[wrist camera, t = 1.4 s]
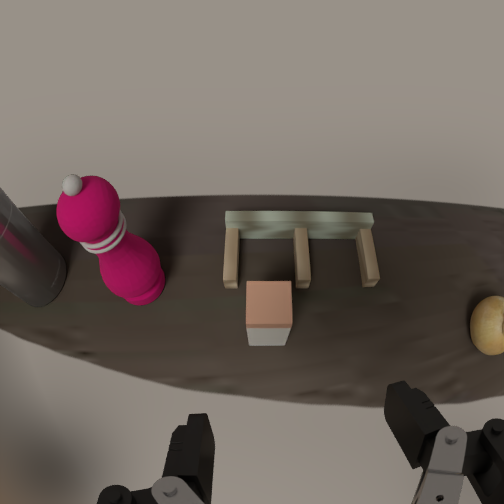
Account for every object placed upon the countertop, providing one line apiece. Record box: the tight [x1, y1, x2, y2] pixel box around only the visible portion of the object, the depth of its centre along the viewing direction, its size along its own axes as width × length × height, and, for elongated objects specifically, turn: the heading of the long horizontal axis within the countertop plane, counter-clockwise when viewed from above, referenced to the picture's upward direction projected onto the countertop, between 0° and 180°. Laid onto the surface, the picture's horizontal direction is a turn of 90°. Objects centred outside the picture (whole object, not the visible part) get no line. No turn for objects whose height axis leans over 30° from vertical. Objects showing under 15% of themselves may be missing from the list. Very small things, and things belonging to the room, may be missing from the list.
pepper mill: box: [57, 174, 165, 305], centre depth 30 cm, size 7×7×20 cm
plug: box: [246, 281, 292, 346], centre depth 32 cm, size 4×4×9 cm
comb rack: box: [223, 211, 380, 288], centre depth 38 cm, size 18×8×4 cm, turn 89°
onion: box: [470, 296, 504, 355], centre depth 30 cm, size 8×8×7 cm
